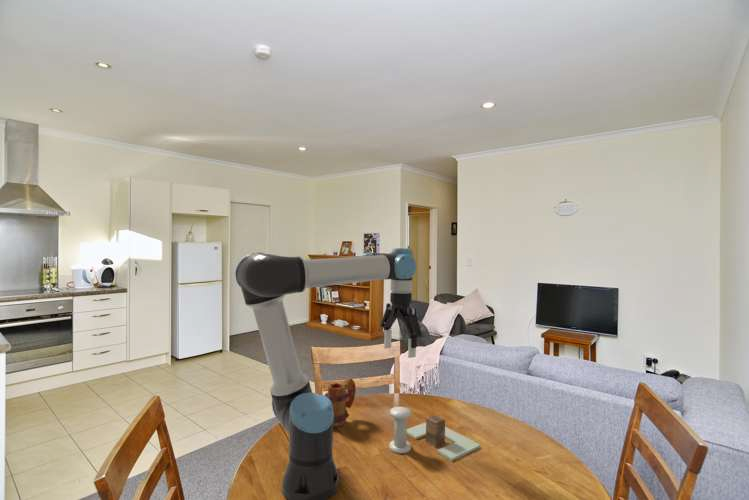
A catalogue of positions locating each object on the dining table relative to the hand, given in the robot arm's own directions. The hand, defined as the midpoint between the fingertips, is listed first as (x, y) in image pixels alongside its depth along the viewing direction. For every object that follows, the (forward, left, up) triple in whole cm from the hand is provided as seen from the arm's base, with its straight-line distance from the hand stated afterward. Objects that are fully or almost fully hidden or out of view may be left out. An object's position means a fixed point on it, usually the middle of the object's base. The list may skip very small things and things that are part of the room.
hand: (399, 352), depth 132 cm
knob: (-5, -8, -29) cm, 30 cm away
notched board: (+10, -12, -29) cm, 32 cm away
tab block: (+7, -12, -29) cm, 32 cm away
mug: (-11, +19, -29) cm, 37 cm away
